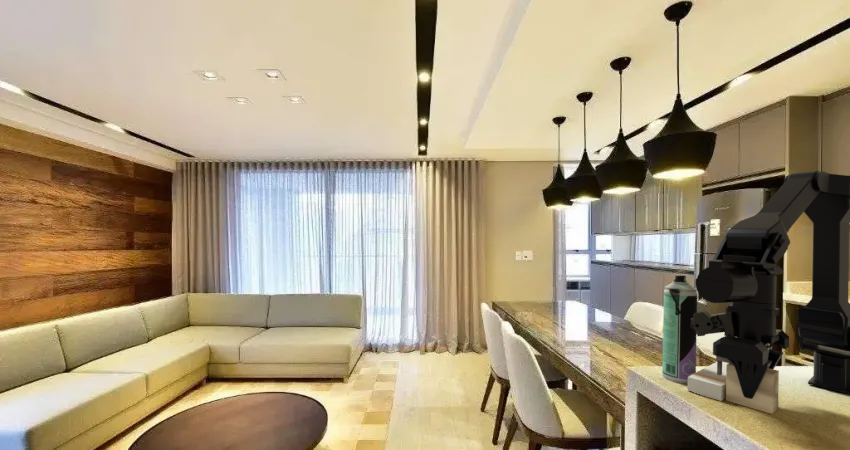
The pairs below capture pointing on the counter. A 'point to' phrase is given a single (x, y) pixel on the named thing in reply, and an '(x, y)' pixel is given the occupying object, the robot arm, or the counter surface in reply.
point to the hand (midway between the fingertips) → (751, 394)
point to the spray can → (679, 330)
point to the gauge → (764, 395)
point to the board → (709, 382)
